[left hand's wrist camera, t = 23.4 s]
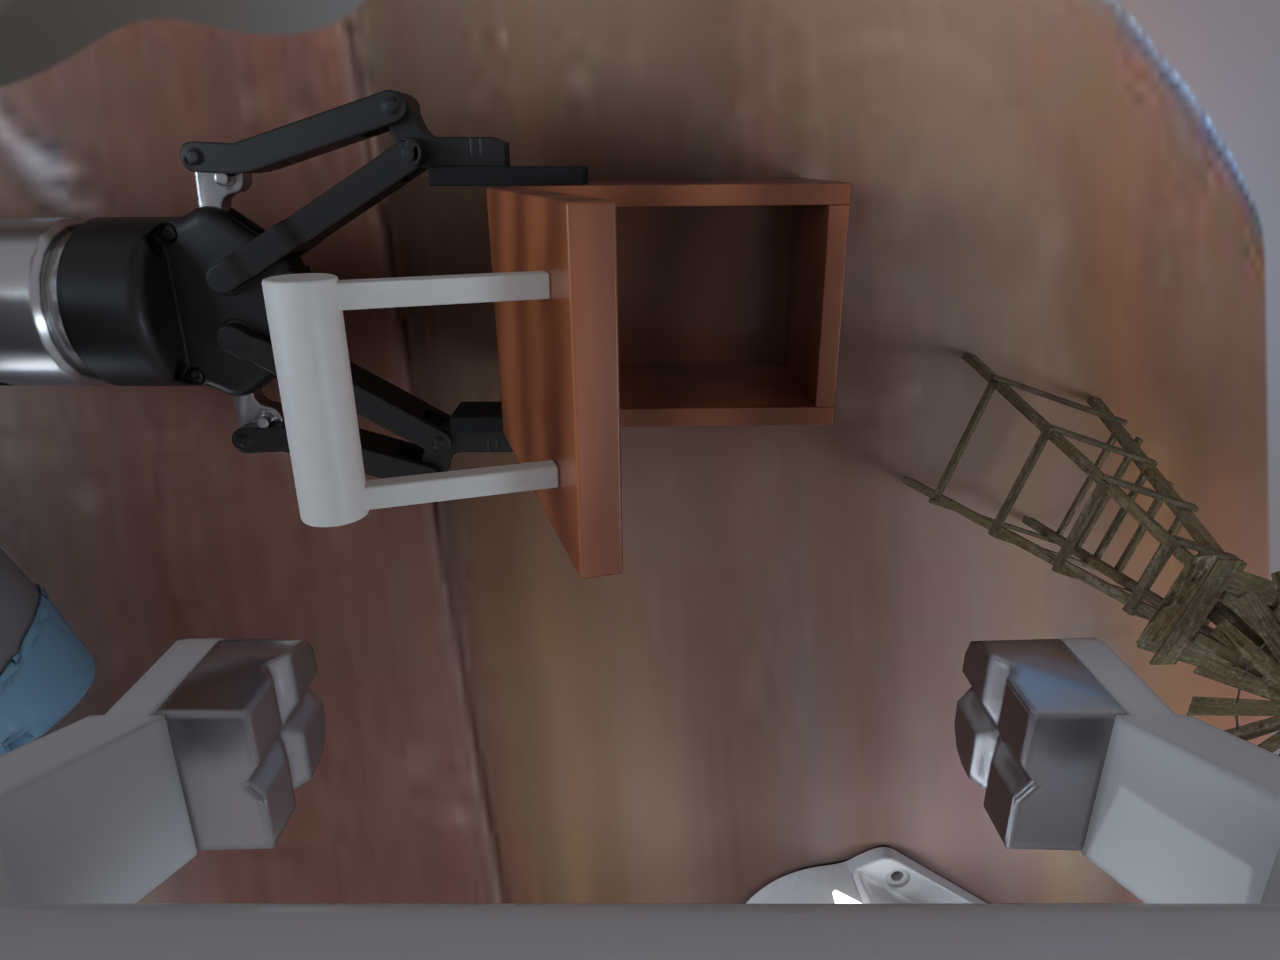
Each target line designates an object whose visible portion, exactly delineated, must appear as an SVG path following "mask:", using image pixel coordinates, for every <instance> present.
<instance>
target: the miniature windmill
mask: <svg viewBox="0 0 1280 960" xmlns="http://www.w3.org/2000/svg"><path fill="white" fill-rule="evenodd" d="M963 359H964V360H965V361H966V362H967V363H968V364H970V365H971V366H972V367H973V368H974V369H975V370H976V371H977V372H978V373H979V374H980V375H981V376H982V377H983V378H984V379H986V380H987V381H988V382H989V384H988V386H987V388H986V390H985V392H984V394H983V396H982V398H981V400H980V402H979V404H978V406H977V408H976V410H975V412H974V414H973V416H972V418H971V420H970V422H969V424H968V426H967V428H966V430H965V432H964V434H963V436H962V438H961V440H960V442H959V444H958V446H957V448H956V450H955V452H954V454H953V456H952V458H951V460H950V462H949V464H948V466H947V468H946V470H945V472H944V474H943V476H942V478H941V480H940V482H939V484H938V486H937V488H936V490H933V489H931V488H929V487H927V486H925V485H924V484H922V483H920V482H918V481H916V480H914V479H911V478H908V477H905V479H904V481H903V483H904V484H906V485H908V486H910V487H912V488H913V489H915V490H917V491H919V492H921V493H923V494H924V495H926V496H928V497H930V498H932V499H930V500H929V502H930V503H932V504H935V505H938V506H941V507H944V508H947V509H950V510H953V511H955V512H957V513H959V514H961V515H963V516H964V517H966V518H968V519H970V520H972V521H974V522H975V523H977V524H979V525H981V526H983V527H985V528H986V529H988V530H989V532H988V533H989V534H990V535H991V536H992V537H995V538H997V539H1000V540H1003V541H1006V542H1009V543H1012V544H1015V545H1017V546H1019V547H1021V548H1023V549H1025V550H1026V551H1028V552H1030V553H1032V554H1034V555H1036V556H1037V557H1039V558H1041V559H1043V560H1045V561H1046V562H1048V563H1050V564H1052V565H1053V567H1052V570H1053V571H1055V572H1056V573H1059V574H1062V575H1066V576H1069V577H1072V578H1075V579H1078V580H1081V581H1083V582H1085V583H1087V584H1088V585H1090V586H1092V587H1094V588H1096V589H1097V590H1099V591H1101V592H1103V593H1105V594H1107V595H1108V596H1110V597H1112V598H1114V599H1116V600H1117V601H1119V602H1121V603H1123V604H1125V606H1124V607H1123V610H1124V611H1125V612H1126V613H1128V614H1129V615H1132V616H1133V615H1135V616H1138V617H1141V618H1144V619H1147V620H1150V621H1149V623H1148V625H1147V626H1146V628H1145V629H1144V631H1143V633H1142V634H1141V636H1140V637H1139V639H1138V640H1137V642H1136V643H1137V644H1138V645H1137V647H1138V648H1141V649H1144V650H1147V651H1150V652H1154V653H1155V655H1154V656H1153V658H1152V659H1151V661H1150V664H1151V665H1159V664H1176V663H1177V661H1178V660H1179V661H1182V662H1186V663H1189V664H1192V665H1195V666H1197V667H1196V669H1195V670H1194V672H1193V673H1195V674H1198V675H1201V676H1204V677H1207V678H1210V679H1212V680H1215V681H1218V682H1221V683H1224V684H1227V685H1230V686H1232V687H1235V688H1238V689H1239V690H1238V695H1237V699H1231V698H1212V697H1193V699H1192V701H1191V704H1190V707H1189V710H1188V713H1187V715H1217V716H1236V727H1235V728H1232V729H1228V730H1225V732H1228V733H1230V734H1232V735H1234V736H1236V737H1239V738H1241V739H1243V740H1245V741H1247V740H1250V739H1253V738H1257V737H1260V736H1263V735H1266V734H1269V733H1272V732H1275V731H1278V730H1280V571H1279V572H1275V573H1272V574H1271V577H1272V580H1273V581H1271V580H1268V579H1265V578H1262V577H1259V576H1256V575H1253V574H1250V573H1247V572H1244V571H1243V569H1244V568H1245V566H1246V565H1247V563H1245V562H1243V560H1240V559H1239V558H1238V557H1237V556H1236V555H1233V554H1230V553H1227V552H1224V550H1223V549H1222V548H1221V547H1220V545H1219V544H1218V543H1217V542H1216V540H1215V539H1214V538H1213V537H1212V536H1211V534H1210V533H1209V532H1208V531H1207V529H1206V528H1205V527H1204V526H1203V524H1202V523H1201V522H1200V521H1199V520H1198V518H1197V517H1196V516H1195V515H1194V513H1193V512H1192V511H1194V512H1197V511H1198V509H1199V508H1198V507H1197V506H1196V505H1194V504H1192V503H1189V502H1186V501H1183V500H1182V499H1181V497H1180V496H1179V495H1178V494H1177V492H1176V491H1175V490H1174V489H1173V487H1172V486H1173V484H1172V483H1171V482H1169V481H1167V480H1166V479H1165V478H1164V476H1163V475H1162V474H1161V473H1160V471H1159V470H1158V469H1157V468H1156V466H1157V464H1158V463H1157V462H1156V461H1155V460H1153V459H1151V458H1148V457H1147V455H1146V454H1145V453H1144V452H1143V450H1142V449H1141V448H1140V445H1141V443H1142V441H1143V440H1142V439H1141V438H1138V437H1136V438H1135V440H1134V439H1133V438H1132V437H1131V436H1130V434H1129V433H1128V432H1127V431H1126V429H1125V428H1124V426H1122V425H1121V424H1123V425H1125V426H1126V424H1127V423H1128V422H1127V421H1126V420H1124V419H1121V418H1119V417H1116V416H1114V415H1113V413H1112V412H1111V411H1110V410H1109V408H1108V407H1107V406H1106V405H1105V404H1104V402H1103V401H1102V400H1101V399H1100V398H1097V397H1094V396H1091V395H1090V397H1089V398H1088V400H1087V402H1088V404H1089V405H1090V406H1091V408H1090V407H1087V406H1084V405H1081V404H1078V403H1075V402H1073V401H1070V400H1067V399H1064V398H1061V397H1058V396H1055V395H1052V394H1049V393H1047V392H1044V391H1041V390H1038V389H1035V388H1032V387H1029V386H1026V385H1024V384H1021V383H1018V382H1015V381H1012V380H1009V379H1006V378H1003V377H1001V376H998V375H996V374H995V373H994V372H993V371H992V370H991V369H990V368H988V367H987V366H986V365H985V364H984V363H983V362H982V361H981V360H980V359H979V358H978V357H977V356H975V355H974V354H971V353H968V352H966V353H965V354H964V356H963ZM1008 385H1010V386H1013V387H1016V388H1019V389H1022V390H1024V391H1027V392H1030V393H1033V394H1036V395H1039V396H1042V397H1045V398H1048V399H1050V400H1053V401H1056V402H1059V403H1062V404H1065V405H1068V406H1071V407H1074V408H1076V409H1079V410H1082V411H1085V412H1088V413H1091V414H1094V415H1097V416H1098V417H1099V418H1100V419H1101V420H1102V422H1103V423H1104V424H1105V426H1106V427H1107V428H1108V429H1109V431H1110V432H1111V433H1112V434H1111V436H1110V438H1109V440H1108V441H1107V443H1104V442H1101V441H1098V440H1095V439H1092V438H1089V437H1086V436H1083V435H1080V434H1077V433H1075V432H1072V431H1069V430H1066V429H1063V428H1060V427H1057V426H1054V425H1051V424H1050V423H1048V422H1047V421H1046V420H1045V419H1044V418H1043V417H1042V416H1041V415H1040V414H1039V413H1038V412H1036V411H1035V410H1034V409H1033V408H1032V407H1031V406H1030V405H1029V404H1028V403H1027V402H1026V401H1024V400H1023V399H1022V398H1021V397H1020V396H1019V395H1018V394H1017V393H1016V392H1015V391H1014V390H1012V389H1011V388H1010V387H1009V386H1008ZM995 389H996V390H997V391H998V392H999V393H1000V394H1002V395H1003V396H1004V397H1005V398H1006V399H1007V400H1008V401H1009V402H1010V403H1011V404H1012V405H1013V406H1014V407H1015V408H1017V409H1018V410H1019V411H1020V412H1021V413H1022V414H1023V415H1024V416H1025V417H1026V418H1027V419H1028V420H1029V421H1030V422H1031V423H1033V424H1034V425H1035V426H1036V427H1037V428H1038V429H1039V430H1040V431H1041V434H1040V436H1039V438H1038V440H1037V442H1036V444H1035V446H1034V448H1033V449H1032V451H1031V453H1030V455H1029V457H1028V459H1027V461H1026V463H1025V464H1024V466H1023V468H1022V470H1021V472H1020V474H1019V476H1018V478H1017V479H1016V481H1015V483H1014V485H1013V487H1012V489H1011V491H1010V493H1009V495H1008V496H1007V498H1006V500H1005V502H1004V504H1003V506H1002V508H1001V510H1000V511H999V513H998V515H997V517H996V519H992V518H989V517H986V516H983V515H980V514H978V513H976V512H974V511H972V510H971V509H969V508H967V507H965V506H963V505H961V504H959V503H957V502H955V501H954V500H952V499H950V498H948V497H946V496H944V495H942V493H943V491H944V489H945V487H946V485H947V483H948V481H949V479H950V477H951V475H952V473H953V471H954V469H955V467H956V465H957V463H958V461H959V459H960V457H961V455H962V453H963V451H964V449H965V447H966V445H967V444H968V442H969V440H970V438H971V436H972V434H973V432H974V430H975V428H976V426H977V424H978V422H979V420H980V418H981V416H982V414H983V412H984V410H985V408H986V406H987V404H988V402H989V400H990V398H991V396H992V394H993V392H994V390H995ZM1063 435H1064V436H1067V437H1070V438H1073V439H1076V440H1079V441H1082V442H1085V443H1087V444H1090V445H1093V446H1096V447H1099V448H1102V449H1103V450H1102V452H1101V454H1100V456H1099V457H1098V459H1097V461H1096V463H1095V465H1094V464H1093V463H1092V462H1091V461H1090V460H1089V459H1088V458H1087V457H1086V456H1084V455H1083V454H1082V453H1081V452H1080V451H1079V450H1078V449H1077V448H1076V447H1075V446H1074V445H1072V444H1071V443H1070V442H1069V441H1068V440H1067V439H1066V438H1065V437H1064V436H1063ZM1048 439H1050V440H1051V441H1052V442H1053V443H1054V444H1055V445H1056V446H1057V447H1058V448H1059V449H1060V450H1061V451H1062V452H1064V453H1065V454H1066V455H1067V456H1068V457H1069V458H1070V459H1071V460H1072V461H1073V462H1074V463H1075V464H1076V465H1077V466H1078V467H1080V468H1081V469H1082V470H1083V471H1084V472H1085V473H1086V474H1087V475H1088V477H1087V479H1086V481H1085V482H1084V484H1083V486H1082V488H1081V489H1080V491H1079V493H1078V495H1077V496H1076V498H1075V500H1074V502H1073V504H1072V505H1071V507H1070V509H1069V511H1068V512H1067V514H1066V516H1065V518H1064V520H1063V521H1062V523H1061V525H1060V527H1059V528H1058V530H1057V532H1055V531H1053V530H1052V529H1050V528H1048V527H1047V526H1045V525H1043V524H1042V523H1040V522H1039V521H1037V520H1035V519H1034V518H1030V517H1027V516H1024V517H1023V520H1022V522H1023V523H1025V524H1026V525H1028V526H1029V527H1031V528H1032V529H1034V530H1036V531H1037V532H1039V533H1040V534H1038V533H1035V532H1032V531H1029V530H1026V529H1023V528H1020V527H1016V526H1013V525H1010V524H1007V523H1004V521H1005V519H1006V517H1007V515H1008V514H1009V512H1010V510H1011V508H1012V506H1013V504H1014V502H1015V501H1016V499H1017V497H1018V495H1019V493H1020V491H1021V489H1022V488H1023V486H1024V484H1025V482H1026V480H1027V478H1028V476H1029V474H1030V473H1031V471H1032V469H1033V467H1034V465H1035V463H1036V461H1037V460H1038V458H1039V456H1040V454H1041V452H1042V450H1043V448H1044V447H1045V445H1046V443H1047V441H1048ZM1116 440H1117V441H1118V442H1119V444H1120V445H1121V446H1122V447H1123V449H1121V448H1118V447H1115V446H1113V445H1114V443H1115V441H1116ZM1110 451H1111V452H1114V453H1117V454H1120V455H1123V456H1125V458H1124V459H1123V461H1122V463H1121V464H1120V466H1119V468H1118V470H1117V471H1116V473H1115V475H1114V477H1112V476H1109V475H1106V474H1104V473H1103V472H1102V471H1101V470H1100V468H1101V466H1102V464H1103V463H1104V461H1105V459H1106V457H1107V456H1108V454H1109V452H1110ZM1131 460H1133V462H1134V463H1135V464H1136V465H1137V467H1138V468H1139V469H1140V471H1141V473H1140V475H1139V477H1138V479H1137V480H1136V482H1135V484H1133V483H1130V482H1127V481H1124V480H1121V478H1122V476H1123V474H1124V473H1125V471H1126V469H1127V467H1128V466H1129V464H1130V462H1131ZM1146 479H1147V480H1148V481H1149V482H1150V484H1151V485H1152V486H1153V487H1154V489H1155V490H1156V491H1154V490H1151V489H1148V488H1145V487H1142V486H1143V484H1144V483H1145V481H1146ZM1093 481H1094V482H1096V483H1097V486H1096V488H1095V490H1094V491H1093V493H1092V495H1091V497H1090V498H1089V500H1088V502H1087V504H1086V505H1085V507H1084V509H1083V511H1082V512H1081V514H1080V516H1079V518H1078V520H1077V521H1076V523H1075V525H1074V527H1073V528H1072V530H1071V532H1070V534H1069V535H1068V537H1067V539H1066V538H1065V537H1063V536H1062V535H1063V533H1064V531H1065V530H1066V528H1067V526H1068V524H1069V523H1070V521H1071V519H1072V517H1073V515H1074V514H1075V512H1076V510H1077V508H1078V507H1079V505H1080V503H1081V501H1082V500H1083V498H1084V496H1085V494H1086V493H1087V491H1088V489H1089V487H1090V485H1091V484H1092V482H1093ZM1118 486H1119V487H1122V488H1125V489H1128V490H1131V491H1130V493H1129V494H1128V495H1127V494H1126V493H1125V492H1124V491H1123V490H1122V489H1120V488H1119V487H1118ZM1138 493H1140V494H1143V495H1146V496H1149V497H1152V498H1155V499H1154V501H1153V503H1152V504H1151V506H1150V508H1149V510H1148V511H1147V512H1146V511H1144V510H1143V509H1142V508H1141V507H1140V506H1139V505H1138V504H1137V503H1136V502H1135V501H1134V500H1135V498H1136V497H1137V495H1138ZM1110 497H1112V498H1113V499H1114V500H1115V501H1116V502H1117V503H1118V504H1119V505H1120V506H1121V508H1120V510H1119V512H1118V513H1117V515H1116V517H1115V519H1114V520H1113V522H1112V524H1111V526H1110V527H1109V529H1108V531H1107V533H1106V534H1105V536H1104V538H1103V540H1102V541H1101V543H1100V545H1099V547H1098V548H1097V550H1096V552H1095V554H1094V555H1092V554H1091V553H1089V552H1087V551H1086V550H1084V549H1082V548H1081V547H1082V545H1083V543H1084V542H1085V540H1086V538H1087V536H1088V535H1089V533H1090V531H1091V529H1092V528H1093V526H1094V524H1095V523H1096V521H1097V519H1098V517H1099V516H1100V514H1101V512H1102V510H1103V509H1104V507H1105V505H1106V504H1107V502H1108V500H1109V498H1110ZM1163 501H1164V502H1165V503H1166V504H1167V505H1168V507H1169V508H1170V509H1171V511H1172V512H1173V513H1174V514H1175V516H1176V518H1175V520H1174V522H1173V523H1172V525H1171V527H1170V528H1169V530H1168V532H1167V531H1166V530H1165V529H1164V528H1163V527H1162V526H1161V525H1160V524H1159V523H1158V522H1156V521H1155V520H1154V519H1153V518H1154V517H1155V515H1156V513H1157V511H1158V510H1159V508H1160V506H1161V505H1162V503H1163ZM1127 512H1128V513H1129V514H1130V515H1131V516H1132V517H1133V518H1134V519H1135V520H1136V521H1137V522H1138V523H1139V524H1140V525H1139V527H1138V528H1137V530H1136V532H1135V534H1134V535H1133V537H1132V539H1131V540H1130V542H1129V544H1128V546H1127V547H1126V549H1125V551H1124V552H1123V554H1122V556H1121V558H1120V559H1119V561H1118V563H1117V564H1116V566H1115V568H1113V567H1112V566H1110V565H1108V564H1107V563H1105V562H1104V561H1102V560H1100V559H1101V557H1102V555H1103V554H1104V552H1105V550H1106V549H1107V547H1108V545H1109V543H1110V542H1111V540H1112V538H1113V536H1114V535H1115V533H1116V531H1117V529H1118V528H1119V526H1120V524H1121V523H1122V521H1123V519H1124V517H1125V516H1126V514H1127ZM1182 525H1183V526H1184V527H1185V529H1186V530H1187V531H1188V532H1189V534H1190V535H1191V536H1192V538H1193V539H1194V540H1195V541H1196V542H1194V541H1191V540H1188V539H1185V538H1182V537H1179V536H1176V535H1177V534H1178V532H1179V530H1180V529H1181V527H1182ZM1004 527H1006V528H1009V529H1012V530H1015V531H1018V532H1021V533H1024V534H1027V535H1030V536H1033V537H1036V538H1040V539H1043V540H1046V541H1049V542H1052V543H1055V544H1057V545H1059V546H1061V547H1062V548H1061V549H1060V551H1059V553H1056V552H1053V551H1050V550H1047V549H1044V548H1042V547H1040V546H1038V545H1036V544H1035V543H1033V542H1031V541H1029V540H1027V539H1025V538H1023V537H1021V536H1019V535H1018V534H1016V533H1014V532H1012V531H1010V530H1008V529H1006V528H1004ZM1146 530H1147V531H1148V532H1149V533H1150V534H1151V535H1152V536H1153V537H1154V538H1155V539H1156V540H1158V541H1159V542H1160V543H1161V544H1160V545H1159V547H1158V549H1157V551H1156V552H1155V554H1154V556H1153V557H1152V559H1151V561H1150V562H1149V564H1148V566H1147V568H1146V569H1145V571H1144V573H1143V574H1142V576H1141V578H1140V579H1139V581H1138V582H1136V581H1134V580H1133V579H1131V578H1130V577H1128V576H1126V575H1125V574H1123V573H1122V571H1123V569H1124V568H1125V566H1126V564H1127V563H1128V561H1129V559H1130V557H1131V556H1132V554H1133V552H1134V551H1135V549H1136V547H1137V546H1138V544H1139V542H1140V540H1141V539H1142V537H1143V535H1144V534H1145V532H1146ZM1041 534H1042V535H1041ZM1186 548H1188V549H1191V550H1194V551H1197V552H1198V554H1197V555H1192V554H1191V553H1190V552H1189V551H1188V550H1187V549H1186ZM1171 554H1172V555H1174V556H1175V557H1176V558H1177V559H1178V560H1179V561H1180V562H1181V563H1182V564H1183V565H1184V568H1183V569H1182V571H1181V573H1180V574H1179V576H1178V577H1177V579H1176V580H1175V582H1174V584H1173V585H1172V587H1171V588H1170V590H1169V591H1168V593H1167V595H1166V596H1165V598H1162V597H1160V596H1159V595H1157V594H1156V593H1154V592H1152V591H1151V590H1149V589H1150V588H1151V586H1152V585H1153V583H1154V581H1155V580H1156V578H1157V577H1158V575H1159V573H1160V572H1161V570H1162V569H1163V567H1164V565H1165V564H1166V562H1167V561H1168V559H1169V557H1170V556H1171ZM1069 555H1071V557H1069ZM1072 557H1074V558H1072ZM1075 557H1078V558H1079V559H1081V560H1082V561H1081V560H1078V559H1075ZM1070 562H1071V563H1070ZM1072 563H1074V564H1077V565H1081V566H1084V567H1087V568H1090V569H1093V570H1095V569H1096V570H1098V571H1099V572H1101V573H1103V574H1104V575H1106V576H1107V577H1109V578H1110V579H1112V580H1113V581H1115V582H1117V583H1118V584H1120V585H1121V586H1123V587H1124V588H1122V587H1118V586H1115V585H1112V584H1110V583H1108V582H1106V581H1104V580H1102V579H1100V578H1098V577H1097V576H1095V575H1093V574H1091V573H1089V572H1087V571H1085V570H1083V569H1082V568H1080V567H1078V566H1076V565H1074V564H1072ZM1125 588H1126V589H1125ZM1236 594H1237V595H1238V596H1237V595H1236ZM1143 600H1145V601H1146V602H1148V603H1149V604H1151V605H1152V606H1151V605H1149V604H1147V603H1145V602H1144V601H1143ZM1223 602H1224V603H1225V604H1226V605H1227V606H1228V607H1229V608H1228V607H1227V606H1226V605H1225V604H1223ZM1153 606H1154V607H1153ZM1210 621H1211V622H1213V623H1214V624H1215V625H1216V626H1217V627H1216V628H1215V629H1212V628H1211V627H1209V626H1208V625H1209V623H1210ZM1269 681H1271V682H1272V683H1271V682H1269ZM1274 683H1275V684H1274ZM1241 690H1244V691H1247V692H1250V693H1253V694H1255V695H1258V696H1261V697H1264V698H1267V699H1270V700H1273V701H1269V700H1250V699H1239V696H1240V691H1241ZM1238 716H1274V717H1271V718H1267V719H1264V720H1260V721H1257V722H1253V723H1250V724H1246V725H1242V726H1238ZM1258 747H1261V748H1263V749H1265V750H1267V751H1270V752H1272V753H1273V752H1275V751H1276V750H1277V749H1279V748H1280V731H1279V732H1277V733H1276V734H1274V735H1273V736H1271V737H1270V738H1268V739H1267V740H1265V741H1264V742H1262V743H1261V744H1259V745H1258ZM1278 756H1280V754H1279V755H1278Z"/></svg>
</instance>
